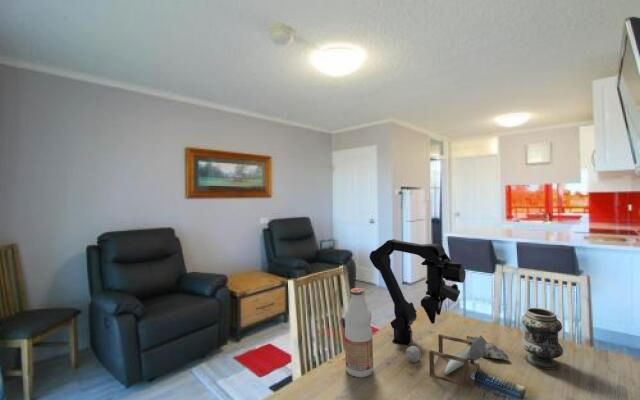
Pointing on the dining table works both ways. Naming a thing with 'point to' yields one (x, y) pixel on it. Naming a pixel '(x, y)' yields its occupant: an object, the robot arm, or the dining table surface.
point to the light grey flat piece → (468, 354)
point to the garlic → (413, 354)
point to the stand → (437, 370)
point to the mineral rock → (491, 350)
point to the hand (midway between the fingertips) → (435, 319)
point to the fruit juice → (358, 336)
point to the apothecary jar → (541, 338)
